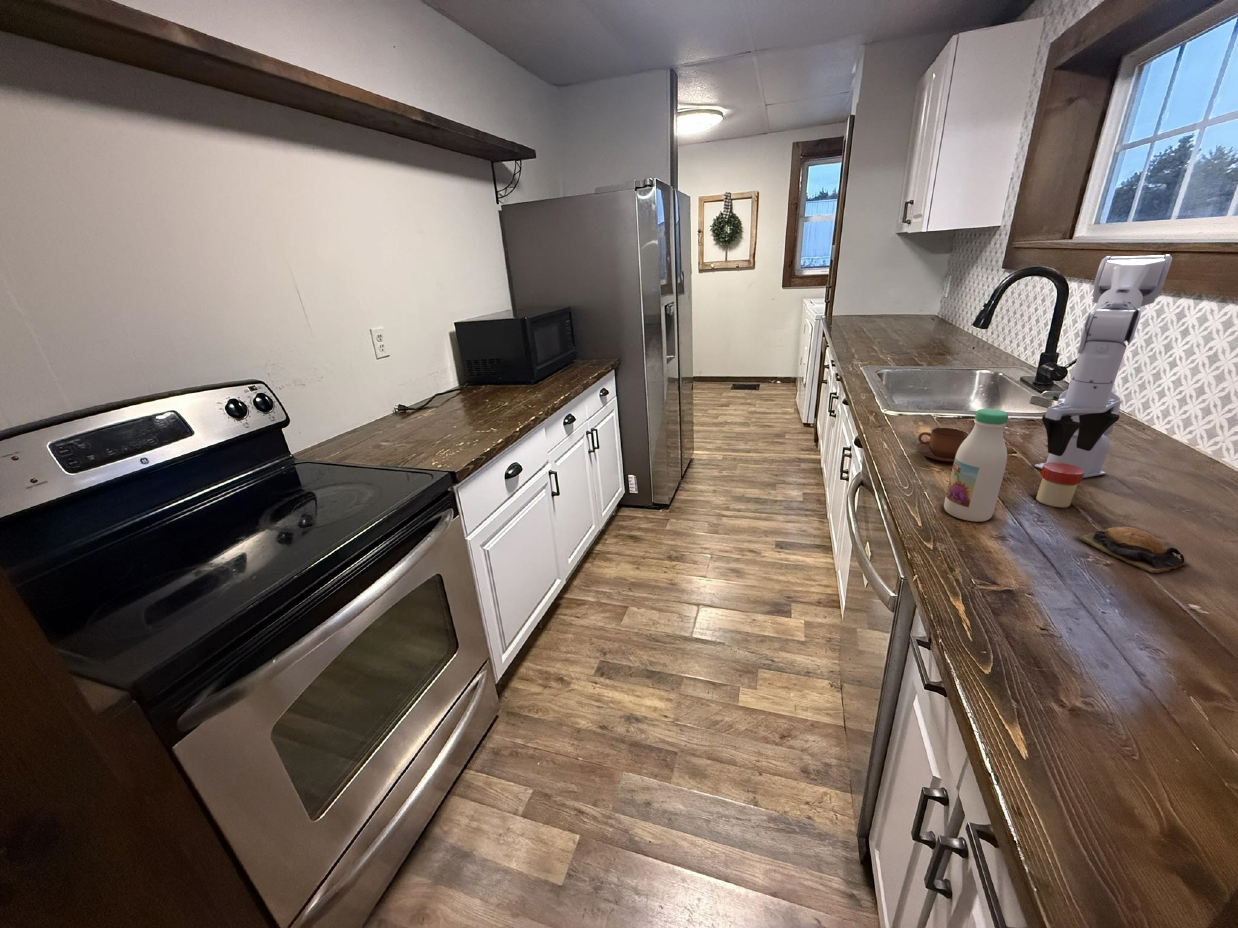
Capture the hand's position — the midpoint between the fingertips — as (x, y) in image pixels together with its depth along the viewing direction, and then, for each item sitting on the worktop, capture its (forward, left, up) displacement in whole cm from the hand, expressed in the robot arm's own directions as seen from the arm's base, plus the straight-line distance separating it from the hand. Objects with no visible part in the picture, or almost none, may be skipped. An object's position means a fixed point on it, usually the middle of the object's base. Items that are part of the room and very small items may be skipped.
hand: (1069, 451), depth 93 cm
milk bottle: (+19, -1, -11) cm, 22 cm away
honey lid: (0, 0, -4) cm, 4 cm away
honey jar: (0, 0, -10) cm, 10 cm away
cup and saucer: (+1, -25, -11) cm, 27 cm away
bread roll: (+6, +17, -11) cm, 21 cm away
